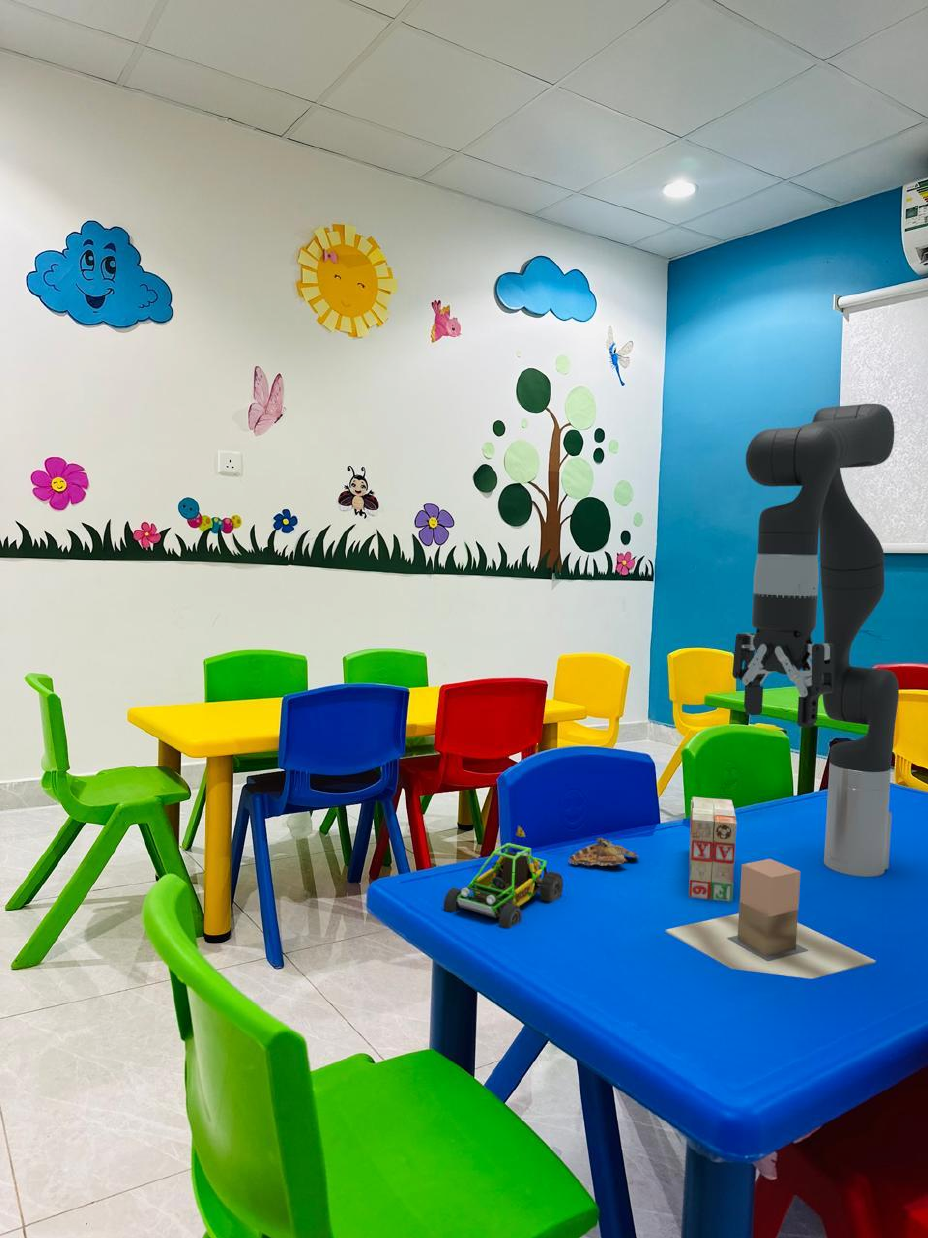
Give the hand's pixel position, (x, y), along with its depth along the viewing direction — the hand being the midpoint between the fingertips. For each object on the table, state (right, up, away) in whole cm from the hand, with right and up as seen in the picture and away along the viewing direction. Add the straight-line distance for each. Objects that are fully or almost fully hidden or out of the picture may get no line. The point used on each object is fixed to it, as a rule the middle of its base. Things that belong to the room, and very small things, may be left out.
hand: (778, 720), depth 112 cm
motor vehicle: (-33, -29, +16) cm, 47 cm away
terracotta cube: (-1, -24, +2) cm, 24 cm away
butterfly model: (-16, -29, +32) cm, 46 cm away
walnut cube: (-1, -29, +2) cm, 29 cm away
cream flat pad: (-1, -30, +3) cm, 30 cm away
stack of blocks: (-1, -28, +29) cm, 41 cm away
